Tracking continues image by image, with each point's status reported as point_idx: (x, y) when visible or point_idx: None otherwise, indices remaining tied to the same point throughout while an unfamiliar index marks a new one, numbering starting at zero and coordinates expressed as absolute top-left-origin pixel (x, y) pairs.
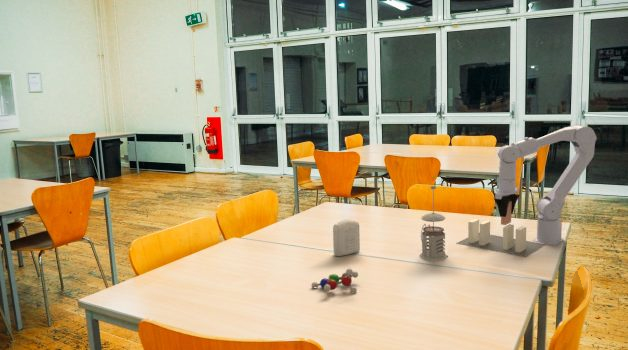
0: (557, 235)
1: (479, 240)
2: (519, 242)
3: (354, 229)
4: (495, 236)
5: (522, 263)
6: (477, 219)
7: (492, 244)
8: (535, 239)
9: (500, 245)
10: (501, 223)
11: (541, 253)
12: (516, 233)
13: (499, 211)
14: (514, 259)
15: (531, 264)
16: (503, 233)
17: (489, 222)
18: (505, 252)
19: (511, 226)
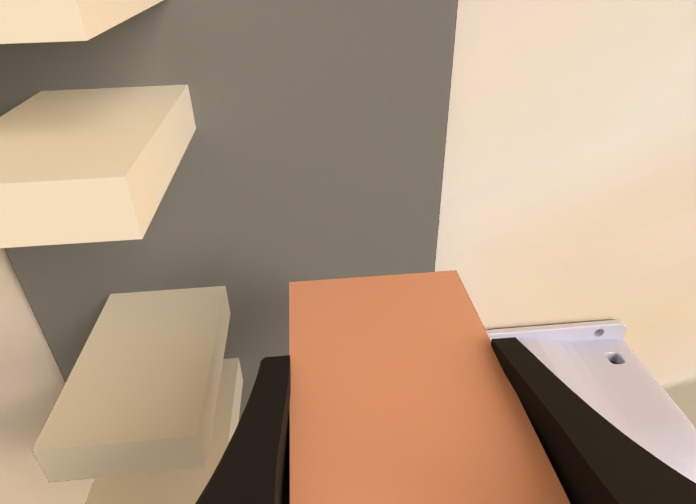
0: None
1: (18, 105)
2: None
3: None
4: (416, 72)
5: (3, 453)
6: (69, 12)
7: None
8: (491, 339)
9: (183, 239)
10: (289, 295)
11: None
12: (90, 497)
13: (246, 416)
14: (21, 404)
15: (34, 479)
16: (61, 397)
17: (122, 232)
18: (61, 336)
19: (145, 470)
